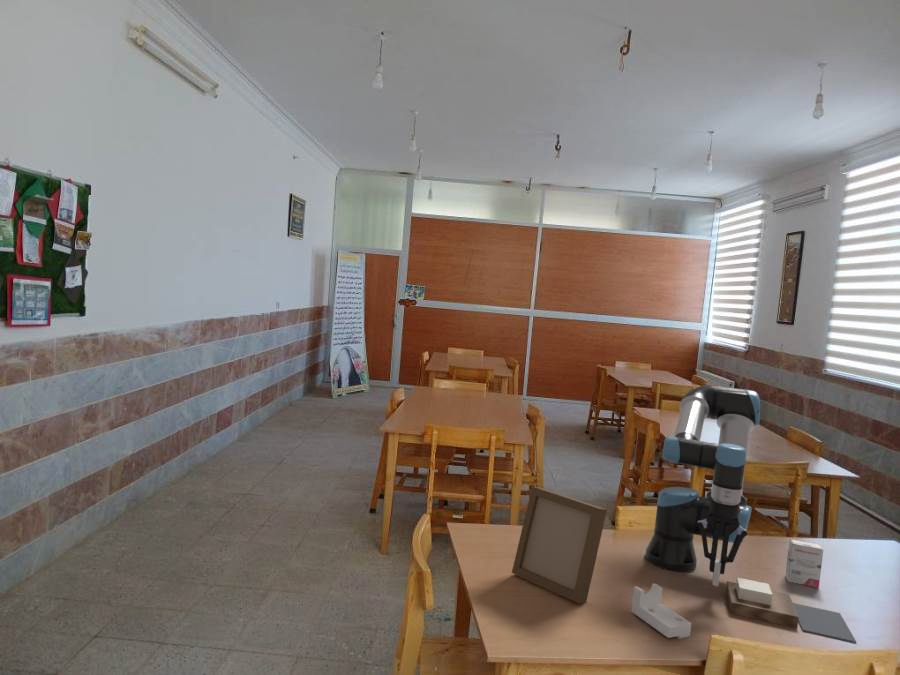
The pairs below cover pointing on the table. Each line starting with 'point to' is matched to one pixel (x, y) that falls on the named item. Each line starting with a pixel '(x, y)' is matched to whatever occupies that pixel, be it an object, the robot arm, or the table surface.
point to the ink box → (804, 563)
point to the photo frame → (559, 543)
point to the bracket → (659, 613)
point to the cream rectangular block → (753, 591)
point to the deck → (764, 607)
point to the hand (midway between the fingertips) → (715, 583)
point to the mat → (823, 623)
